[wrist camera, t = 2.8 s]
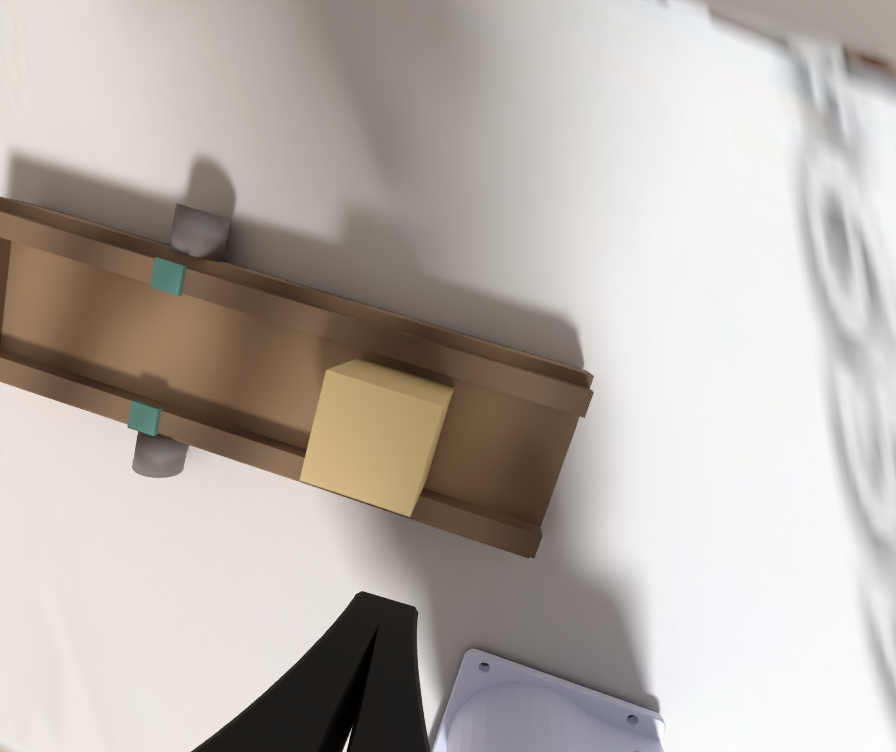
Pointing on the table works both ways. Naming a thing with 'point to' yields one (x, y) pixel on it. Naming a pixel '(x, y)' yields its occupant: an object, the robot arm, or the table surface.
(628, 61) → the table surface
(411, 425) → the block
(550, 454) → the balance beam
